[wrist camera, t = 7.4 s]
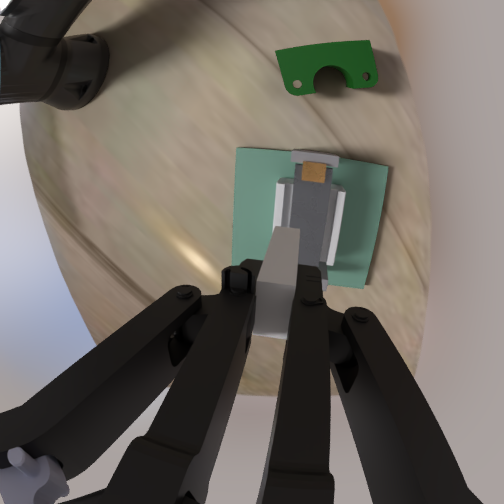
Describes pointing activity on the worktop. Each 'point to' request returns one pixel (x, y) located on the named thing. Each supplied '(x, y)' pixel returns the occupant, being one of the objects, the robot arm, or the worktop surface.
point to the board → (263, 206)
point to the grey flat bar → (310, 208)
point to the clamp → (327, 64)
